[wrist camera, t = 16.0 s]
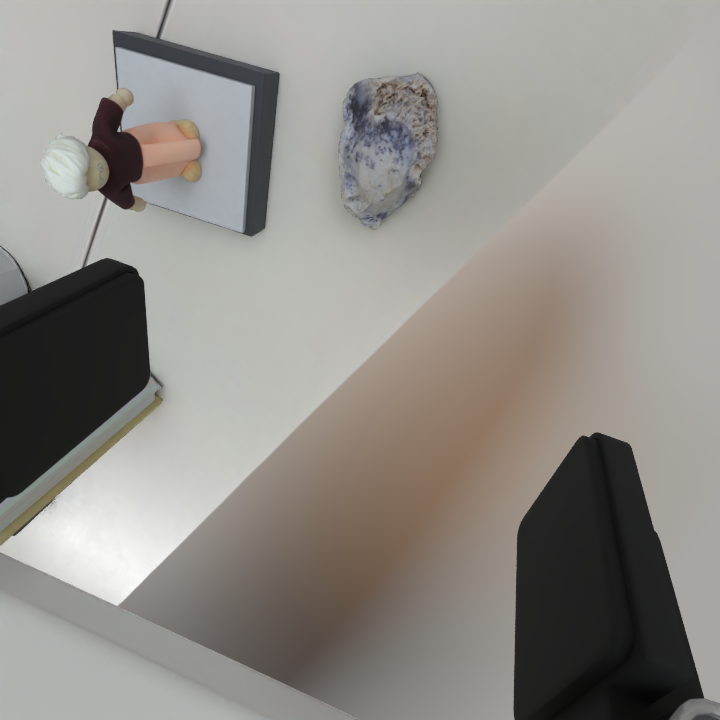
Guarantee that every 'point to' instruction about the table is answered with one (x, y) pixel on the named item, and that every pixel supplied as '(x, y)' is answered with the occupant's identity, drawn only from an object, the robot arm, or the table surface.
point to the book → (7, 283)
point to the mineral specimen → (385, 144)
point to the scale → (204, 126)
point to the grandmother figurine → (121, 155)
